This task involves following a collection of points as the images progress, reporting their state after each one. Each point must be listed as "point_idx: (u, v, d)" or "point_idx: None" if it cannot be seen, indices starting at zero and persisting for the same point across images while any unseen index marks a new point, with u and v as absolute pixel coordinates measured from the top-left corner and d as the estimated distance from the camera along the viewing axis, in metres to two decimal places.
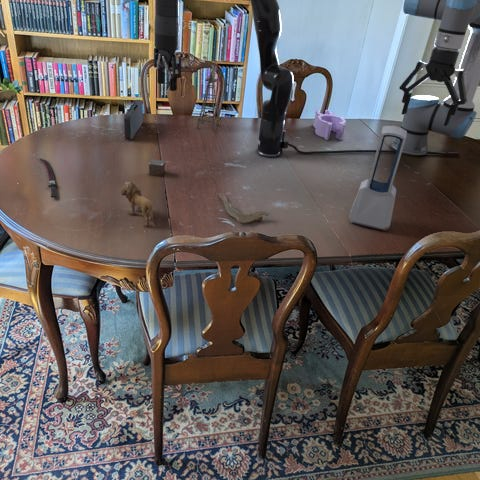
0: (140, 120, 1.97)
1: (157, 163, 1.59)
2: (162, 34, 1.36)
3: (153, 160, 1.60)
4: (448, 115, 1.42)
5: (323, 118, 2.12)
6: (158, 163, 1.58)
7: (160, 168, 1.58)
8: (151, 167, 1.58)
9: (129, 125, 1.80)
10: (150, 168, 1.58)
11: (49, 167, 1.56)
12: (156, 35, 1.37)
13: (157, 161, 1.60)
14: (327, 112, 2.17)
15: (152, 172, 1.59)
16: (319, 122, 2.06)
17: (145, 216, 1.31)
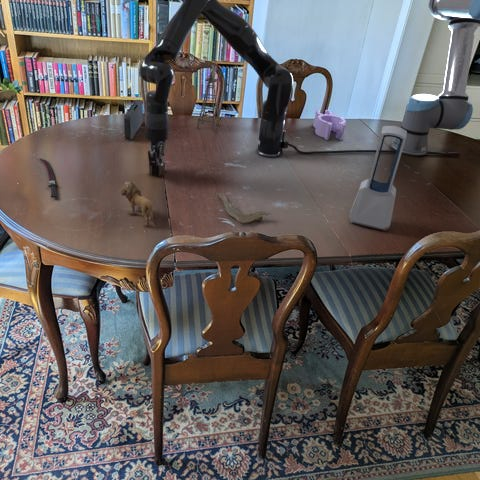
0: (140, 120, 1.97)
1: None
2: None
3: None
4: None
5: (323, 118, 2.12)
6: None
7: (160, 168, 1.58)
8: (151, 167, 1.58)
9: (129, 125, 1.80)
10: (150, 168, 1.58)
11: (49, 167, 1.56)
12: None
13: None
14: (327, 112, 2.17)
15: None
16: (319, 122, 2.06)
17: (145, 216, 1.31)
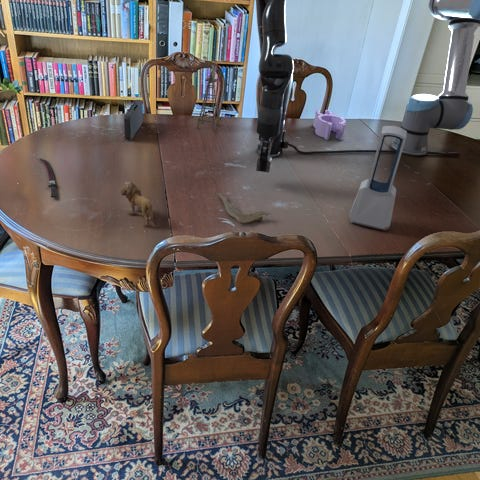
0: (140, 120, 1.97)
1: None
2: None
3: (259, 155, 1.59)
4: None
5: (323, 118, 2.12)
6: None
7: (268, 164, 1.56)
8: (259, 163, 1.56)
9: (129, 125, 1.80)
10: (258, 164, 1.57)
11: (49, 167, 1.56)
12: (280, 123, 1.51)
13: (265, 157, 1.58)
14: (327, 112, 2.17)
15: (259, 168, 1.57)
16: (319, 122, 2.06)
17: (145, 216, 1.31)
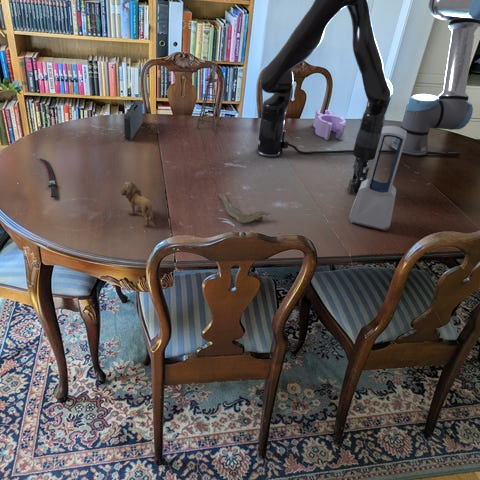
0: (140, 120, 1.97)
1: None
2: None
3: (351, 179, 1.62)
4: None
5: (323, 118, 2.12)
6: None
7: None
8: (353, 187, 1.60)
9: (129, 125, 1.80)
10: (351, 188, 1.60)
11: (49, 167, 1.56)
12: None
13: None
14: (327, 112, 2.17)
15: (352, 192, 1.61)
16: (319, 122, 2.06)
17: (145, 216, 1.31)
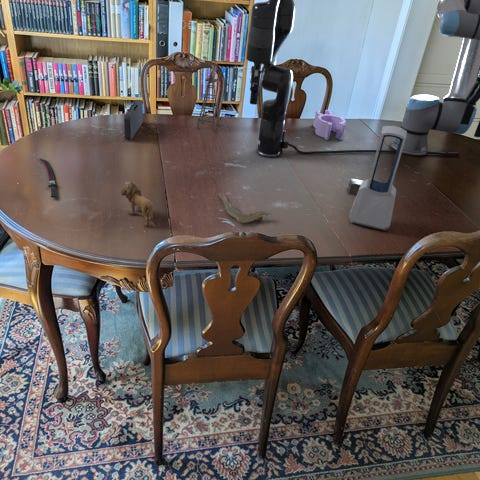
0: (140, 120, 1.97)
1: (358, 182, 1.60)
2: None
3: (351, 179, 1.62)
4: (477, 127, 1.54)
5: (323, 118, 2.12)
6: (359, 183, 1.60)
7: None
8: (353, 187, 1.60)
9: (129, 125, 1.80)
10: (351, 188, 1.60)
11: (49, 167, 1.56)
12: None
13: (357, 181, 1.61)
14: (327, 112, 2.17)
15: (352, 192, 1.61)
16: (319, 122, 2.06)
17: (145, 216, 1.31)
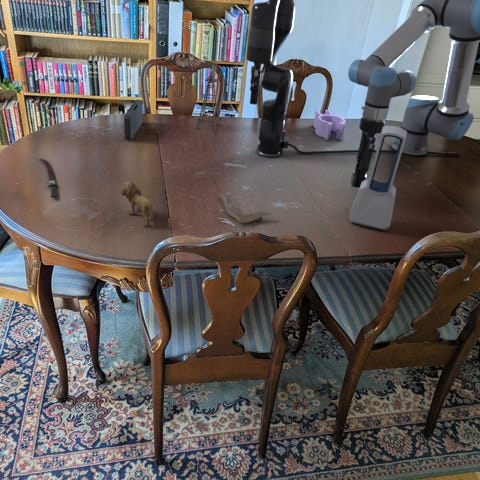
0: (140, 120, 1.97)
1: None
2: None
3: (354, 171, 1.61)
4: (356, 178, 1.58)
5: (323, 118, 2.12)
6: None
7: (364, 180, 1.58)
8: (355, 179, 1.58)
9: (129, 125, 1.80)
10: (354, 180, 1.59)
11: (49, 167, 1.56)
12: None
13: None
14: (327, 112, 2.17)
15: None
16: (319, 122, 2.06)
17: (145, 216, 1.31)
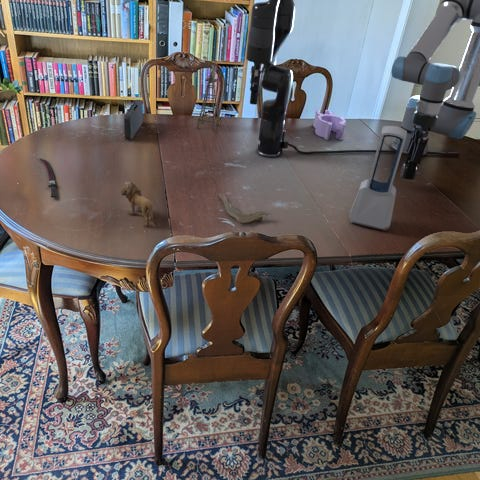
0: (140, 120, 1.97)
1: None
2: None
3: (404, 164, 1.68)
4: (407, 170, 1.65)
5: (323, 118, 2.12)
6: None
7: (415, 172, 1.65)
8: None
9: (129, 125, 1.80)
10: (405, 172, 1.66)
11: (49, 167, 1.56)
12: None
13: None
14: (327, 112, 2.17)
15: None
16: (319, 122, 2.06)
17: (145, 216, 1.31)
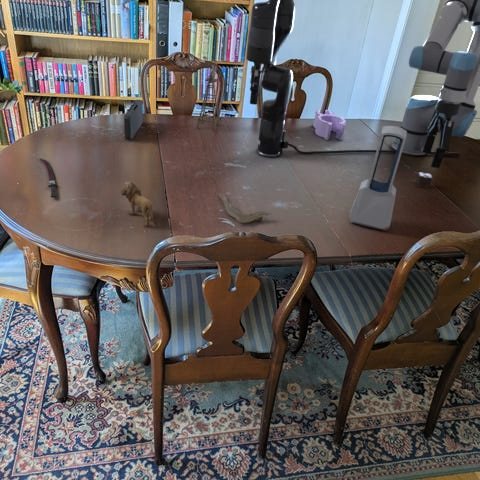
0: (140, 120, 1.97)
1: (426, 175, 1.71)
2: None
3: (419, 172, 1.73)
4: (434, 158, 1.61)
5: (323, 118, 2.12)
6: (428, 176, 1.71)
7: (430, 181, 1.70)
8: (422, 180, 1.70)
9: (129, 125, 1.80)
10: (420, 180, 1.71)
11: (49, 167, 1.56)
12: None
13: (425, 174, 1.72)
14: (327, 112, 2.17)
15: (421, 184, 1.71)
16: (319, 122, 2.06)
17: (145, 216, 1.31)
